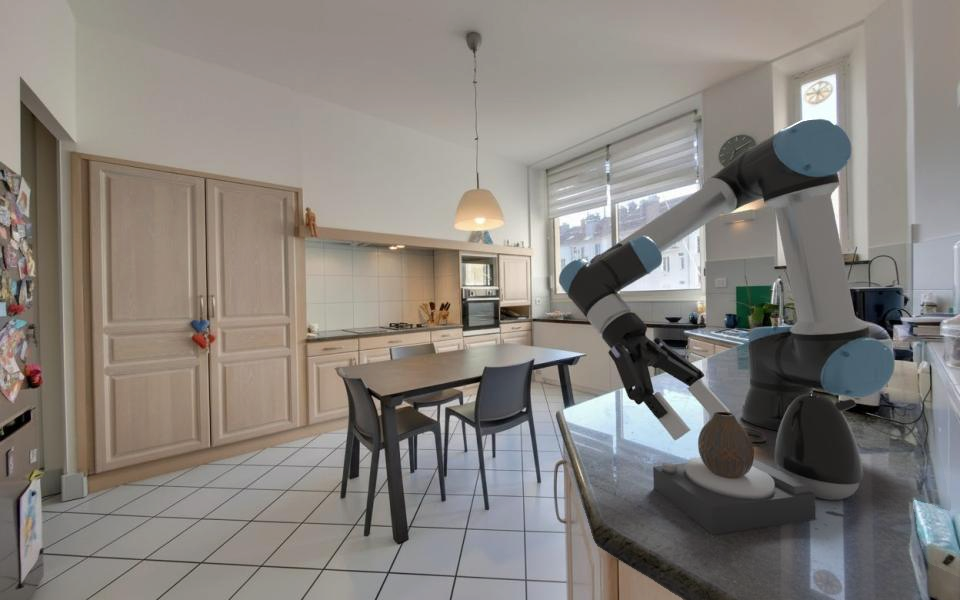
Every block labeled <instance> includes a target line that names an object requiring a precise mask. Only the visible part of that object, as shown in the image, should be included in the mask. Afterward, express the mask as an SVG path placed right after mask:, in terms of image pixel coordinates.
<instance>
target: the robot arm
mask: <svg viewBox="0 0 960 600" xmlns="http://www.w3.org/2000/svg"><path fill="white" fill-rule="evenodd" d="M851 156H852V143H851V141H850V138H849V135H848V134H847V133H846V131H845V130H844V129H843V128H842V127H841V126H840V125H838V124H837V123H832V121H830V120H827V119H824V118H818V117H817V118H815V117H813V118H807V119H803V120H800V121H798V122H795V123H794V124H792V125H790V126H786V127H784V128H782V129H781V130H779V131H778V132H777V133H775V134H773V135H772V136H770V137H767V138H766V139H764V140H763V141H760V143H757V144H755V145H754V146H752V147H750V148H748V149H746V150H744V151H743V152H742V153H740V154H739V155H738V156H736V157H735V158H734V159H733V160H732V161H730V162H729V163H728V164H726V165H725V166H724V167H723V168H722V169H720V170H719V171H717V172H716V173H715V174H713V175H712V176H711V177H709V178H708V179H706V180H705V181H704V182H703V183H702V185H701V188H700V189H698V190H697V191H696V192H694V193H693V194H691V195H690V196H687V197H686V198H685V199H683V200H682V201H680V202H678V203H677V204H675V205H674V206H672V207H670V208H669V209H668V210H667V211H665V212H663V213H662V214H660V215H658V216H657V217H656V218H654V219H652V220H651V221H649V222H648V223H646V224H644V226H642V227H640V228H639V229H637V230H635V231H634V232H632V233H631V234H629V235H628V236H627V237H625V238H623V239H622V240H620V241H619V242H617V243H616V244H614V245H613V246H611V247H609V248H608V249H606V250H605V251H604V252H602V253H598V254H597V255H595V256H594V257H592V258H591V259H590V261H588V260H586V259H584V258H579V259H577V260H576V259H574V260H572V261H570V262H569V263H567V264H566V265H565V266H564V267H563V268H562V270H561V272H560V274H559V276H558V283H559V284H560V287H561V288H562V289H563V291H564V292H565V294H566V295H567V297H568V299H570V300H571V301H572V302H573V303H574V305H575V306H576V307H577V308H578V309H579V311H580V312H581V313H582V314H583V315H584V316H585V318H586V319H587V321H589V324H590V325H592V328H593V329H594V330H596V332H597V333H598V334H599V335H601V337H602V339H603V340H604V342H605V343H606V344H607V346H608V347H609V348H610V349H609V351H607V353H608V355H609V357H611V359H612V361H613V362H614V365H615V367H616V368H617V371H618V375H619V377H620V380H621V383H622V385H623V388H624V389H625V393H626V396H627V397H628V399H630V400H631V401H634V403H635V404H637V405H640V406H641V404H642V403H644V405H645V406H646V407H647V408H648V409H649V411H650V412H651V413H652V414H653V416H654V417H655V418H656V419H657V420H658V421H659V423H660V424H661V425H662V427H664V429H665V431H667V432H668V434H669V435H670V437H671V438H672V439H673V440H674V441H677V440H679V439H680V438H682V437H683V436H684V435H687V433H688V432H690V431H691V428H689V427H690V426H688V425H687V424H686V422H685V421H684V420H683V419H682V418H681V416H680V415H679V414H678V413H677V412H676V411H675V409H674V408H673V407H672V405H670V403H669V402H668V401H667V400H666V399H665V397H664V396H663V395H662V393H661V392H660V391H656V392H655V390H654V386H653V383H652V377H651V375H650V374H651V373H650V371H649V370H650V369H649V367H653V369H660V370H662V371H663V372H665V373H667V374H668V375H670V376H671V377H673V378H675V380H678V381H680V382H681V383H683V384H684V385H686V386H688V387H687V390H688V391H689V392H690V393H691V395H692V396H693V397H694V398H695V399H696V401H697V402H698V403H699V404H700V405H701V406H702V407H703V408H704V409H705V411H707V413H708V414H709V415H710V416H711V418H712V417H713V415H714V413H715V412H717V411H724V412H729V413H731V410H730V409H729V408H728V407H727V406H726V405H725V404H724V403H723V402H722V401H721V399H720V398H718V396H717V395H716V394H715V393H714V392H713V391H712V390H711V388H709V386H707V384H705V382H704V381H703V380H702V379H703V377H705V374H704V373H703V371H702V370H701V369H699V368H698V367H697V366H696V365H694V364H692V363H691V362H690V361H689V360H688V359H686V358H685V357H683V356H682V355H681V354H680V353H678V352H677V351H676V350H675V349H673V348H671V347H670V346H669V345H668V344H667V343H666V342H665V341H663V339H661V338H660V337H659V336H657V337H655V338H654V339H652V340H651V339H650V338H648V337H647V336H646V332H647V329H648V326H647V324H646V323H645V322H644V321H643V320H642V319H641V318H640V316H638V315H637V314H636V313H635V312H633V308H632V307H630V306H629V304H628V303H627V302H626V301H625V300H624V299H623V298H622V297H621V296H620V295H619V294H618V293H619V292H620V291H621V290H623V289H624V288H626V287H628V286H630V285H631V284H633V283H635V282H637V281H638V280H640V279H642V278H643V277H645V276H647V275H650V274H651V273H652V272H654V270H656V269H658V268H659V267H660V266H661V265H662V262H663V256H662V255H663V254H662V253H663V252H664V251H666V250H668V249H669V248H671V247H672V246H673V245H676V244H677V243H679V242H680V241H681V240H683V239H684V238H686V237H688V236H689V235H692V233H694V232H695V231H697V230H699V229H700V228H701V227H704V226H705V225H707V224H708V223H709V222H711V221H713V220H714V219H716V218H718V217H719V216H720V215H729V214H731V213H733V212H735V211H736V210H737V209H739V208H741V207H744V206H746V205H748V204H751V203H753V202H754V203H755V202H757V201H758V200H761V199H763V203H764V205H767V206H768V207H770V208H773V209H774V210H775V215H776V221H777V226H778V230H779V235H780V240H781V246H782V250H783V255H784V260H785V265H786V271H787V276H788V280H789V286H790V289H791V290H790V291H791V295H792V299H793V304H794V311H795V313H796V314H795V316H796V320H797V321H796V322H795V323H794V324H793V325H779V326H778V325H775V326H758V327H754V328H752V329H750V331H749V333H748V342H747V345H748V368H749V370H748V371H749V388H748V392H747V394H746V398H745V400H744V404H743V405H742V408H741V416H742V417H741V418H742V419H743V420H744V421H745V422H747V423H749V424H751V425H754V426H757V427H761V428H762V429H763V428H764V429H768V430H774V431H777V432H778V430H779V427H780V424H781V421H782V419H783V416H784V414H785V412H786V410H787V408H788V407H789V405H790V404H791V403H792V401H793V400H794V399H795V398H796V397H798V396H800V395H802V394H806V393H813V392H814V391H813V390H819V391H822V392H825V393H828V394H831V395H833V396H844V397H847V398H854V399H858V398H859V399H861V398H862V399H863V398H866V397H870V396H872V395H874V394H877V393H878V392H880V391H881V390H882V389H884V388H885V386H886V384H887V383H889V382H890V380H891V379H892V377H893V374H894V371H895V364H896V361H895V356H894V354H893V352H892V350H891V348H890V347H889V346H888V345H885V343H884V342H883V341H881V340H879V339H876V338H874V337H871V333H870V327H869V324H868V322H866V321H864V320H862V319H860V318H858V317H857V316H856V313H855V310H854V304H853V299H852V295H851V288H850V284H849V279H848V274H847V269H846V264H845V260H844V254H843V250H842V249H843V248H842V245H841V240H840V235H839V229H838V225H837V219H836V214H835V210H834V205H833V199H832V195H833V193H834V192H835V191H836V189H838V187H839V186H840V185H841V184H840V178H839V174H838V173H839V172H840V171H841V170H842V169H844V168H845V166H846V165H847V163H848V162H849V161H848V160H849V159H851Z"/></svg>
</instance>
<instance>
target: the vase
mask: <svg viewBox="0 0 960 600" xmlns="http://www.w3.org/2000/svg"><path fill="white" fill-rule="evenodd" d="M697 446H698V453H699V457H701V459H702V461H703V463H704V464H705V466H706V467H707V468H708V469H709V470H710V471H711V472H712V473H714V474H716V475H718V476H721V477H725V478H733V479H735V478H740V477H742V476H744V475H745V474H747V473H748V472H749V471H750V469H751V467H752V465H753V461H754V459H755V450H754V445H753V442H752V439H751V437H750V435H749V434H748V433H747V430H745V429H744V427H742V425H741V424H740V423H739V421H738V420H737V418H736V416H735V414H733V413H731V412H724V411H717V412H715V413H714V415H713V417H712V416H711V418H710V420H708V421H707V422H706V423H705V424H704V426H702V428H701V430H700V432H699V436H698V439H697Z"/></svg>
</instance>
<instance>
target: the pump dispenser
mask: <svg viewBox="0 0 960 600" xmlns="http://www.w3.org/2000/svg"><path fill="white" fill-rule="evenodd" d="M856 406H857V403H856V401H855V400H854V399H851V398H849V399H846V400H841V401H837V402H834V401H833V400H832V399H830V398H829V397H827V396H825V395H822V394H821V393H820V394H819V393H815V392H814V393H806V394H802V395H800V396H798V397H796V398H795V399H794V400H793V401H792V403H791V404H790V405H789V407H788V408H787V410H786V412H785V414H784V416H783V419H782V421H781V424H780V427H779V430H778V431H777V434H776V438H775V439H776V440H775V446H774V454H773V455H774V462H775V464H776V465H777V467H778V471H781V472H783V473H785V474H787V475H789V476H791V477H793V478H796V479H798V480H800V481H802V482H804V483H806V484H808V485H809V491H810V492H812V493H814V494H815V498H817V499H822V500H829V501H830V500H843V499H847V498H849V497H851V496H852V495H853V494H854V493H856V492H857V490H858V489H859V486H860V483H861V482H862V481H863V479H864V468H863V464H862V463H863V462H862V459H861V454H860V453H861V452H860V449H859V447H858V444H857V441H856V438H855V435H854V433H853V430H852V428H851V426H850V424H849V422H848V420H847V418H846V416H845V415H844V414H843V412H844V411H846V410H849V409H851V408H853V407H856Z"/></svg>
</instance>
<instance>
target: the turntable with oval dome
mask: <svg viewBox="0 0 960 600" xmlns="http://www.w3.org/2000/svg"><path fill="white" fill-rule="evenodd" d="M652 468H653V469H652V470H653V471H652V473H653V474H652V475H653V476H652V477H653V489H654V490H655V491H657V492H658V493H659V494H660V495H661V496H663V497H664V498H665V499H667V501H669V502H670V503H671V504H673V505H674V506H675V507H677V508H678V509H679V510H680V511H682V512H683V513H684V514H686V515H687V516H688V517H689V518H691V519H692V520H693V521H694V522H696V523H697V524H698V525H699V526H701V527H702V528H703V529H705V530H706V531H707V532H708V533H709V534H711V535H712V536H714V535H718V534H719V535H721V534H726V533H733V532H740V531H746V530H754V529H760V528H767V527H774V526H775V527H776V526H780V525H787V524H794V523H801V522H808V521H815V520H816V519H817V514H816V513H817V510H816V509H817V508H816V497H815V494H814V493H812V492H810V491H809V485H808V484H806V483H804V482H802V481H800V480H798V479H796V478H793V477H791V476H789V475H787V474H785V473H783V472H781V471H780V470H779V469H776V468H775V467H772V466H770V465H768V464H765V463H763V462H761V461H759V460H757V459H755V458H754V461H753V465H752V467H751V469H750V471H749V472H748V473H747V474H745V475H744V476H742V477H740V478H735V479H733V478H725V477H721V476H718V475H716V474H714V473H712V472H711V471H710V470H709V469H708V468H707V467H706V466H705V464H704V463H703V461H702V459H701V457H700V456H699V457H697V456H696V457H693V458H689V459H688V460H687V461H686V462H684V463H677V464H676V463H672V462H663V463H662V465H658V466H653V467H652Z"/></svg>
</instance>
